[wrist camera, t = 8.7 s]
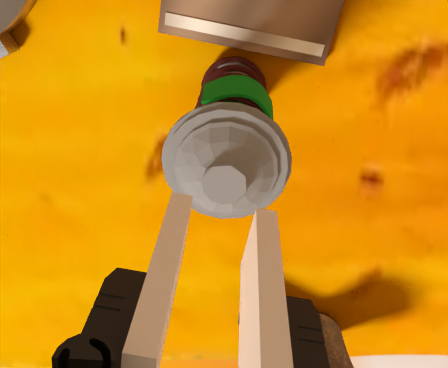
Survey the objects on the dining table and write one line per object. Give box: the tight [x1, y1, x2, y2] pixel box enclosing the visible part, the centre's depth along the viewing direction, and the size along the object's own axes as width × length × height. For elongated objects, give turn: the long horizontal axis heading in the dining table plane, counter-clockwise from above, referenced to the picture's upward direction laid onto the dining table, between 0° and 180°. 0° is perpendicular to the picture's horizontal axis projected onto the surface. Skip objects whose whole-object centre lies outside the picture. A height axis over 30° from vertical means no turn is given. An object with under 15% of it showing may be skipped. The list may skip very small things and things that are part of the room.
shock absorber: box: [161, 57, 292, 219], centre depth 25 cm, size 6×6×15 cm
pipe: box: [238, 312, 354, 368], centre depth 40 cm, size 6×13×8 cm, turn 65°
